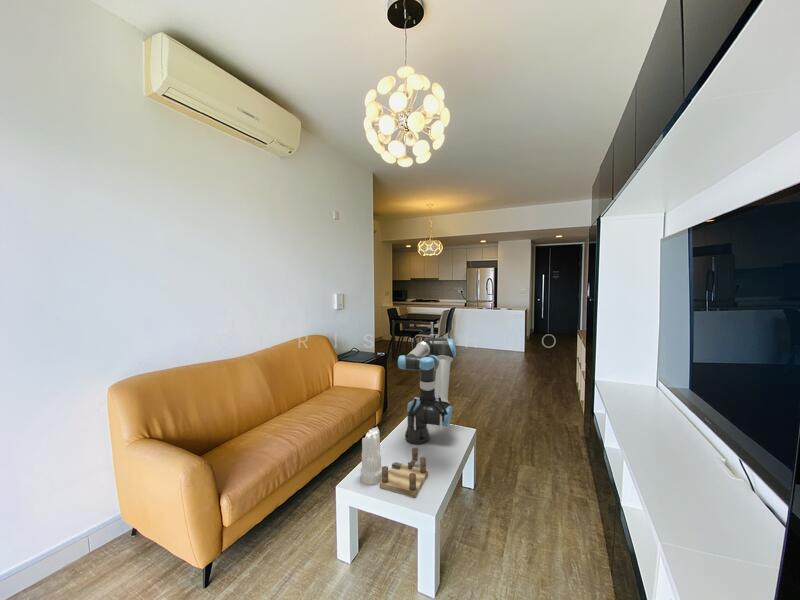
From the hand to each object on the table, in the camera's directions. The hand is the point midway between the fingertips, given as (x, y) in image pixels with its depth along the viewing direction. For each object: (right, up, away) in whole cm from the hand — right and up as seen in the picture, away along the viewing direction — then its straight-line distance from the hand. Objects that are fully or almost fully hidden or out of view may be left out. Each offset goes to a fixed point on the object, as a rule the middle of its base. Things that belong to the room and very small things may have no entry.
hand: (428, 428), depth 163 cm
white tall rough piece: (-28, -22, -7) cm, 37 cm away
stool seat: (-12, -22, -10) cm, 27 cm away
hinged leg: (-8, -18, -1) cm, 20 cm away
